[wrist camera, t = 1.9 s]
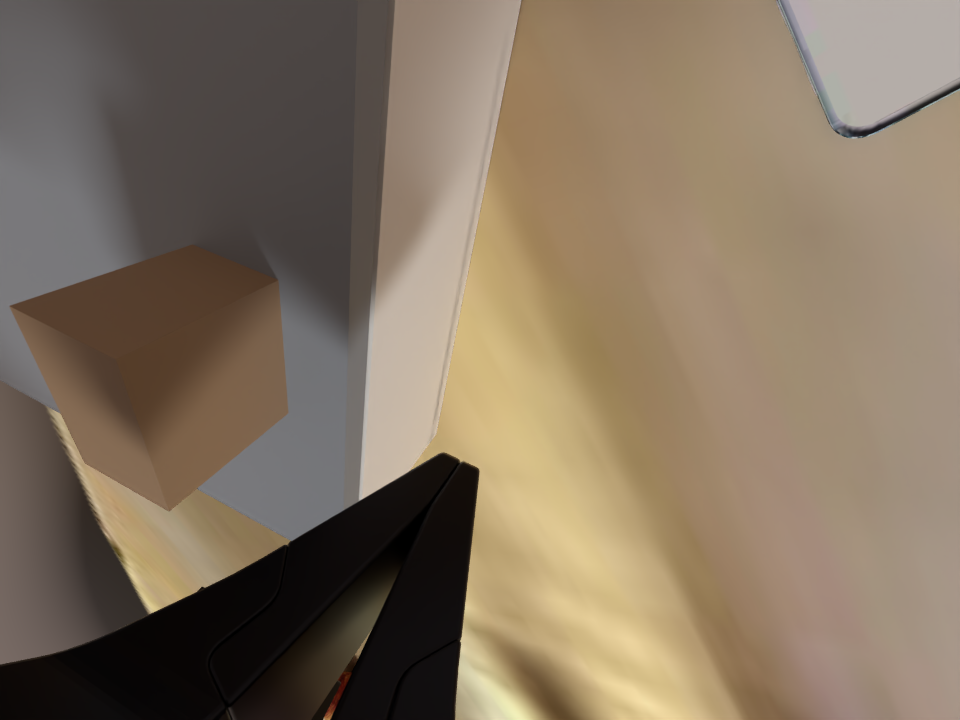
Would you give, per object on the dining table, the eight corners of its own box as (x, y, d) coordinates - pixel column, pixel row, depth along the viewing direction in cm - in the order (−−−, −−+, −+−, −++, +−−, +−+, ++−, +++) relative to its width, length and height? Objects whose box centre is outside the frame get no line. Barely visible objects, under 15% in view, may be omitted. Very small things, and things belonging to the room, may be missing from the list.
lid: (355, 549, 16) (265, 674, 13) (4, 360, 20) (-138, 419, 17) (394, -105, 6) (50, -307, 3) (-315, -240, 10) (-829, -399, 7)
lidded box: (436, 434, 21) (359, 539, 16) (139, 298, 25) (6, 351, 20) (522, -7, 11) (399, -63, 7) (21, -121, 15) (-285, -208, 10)
